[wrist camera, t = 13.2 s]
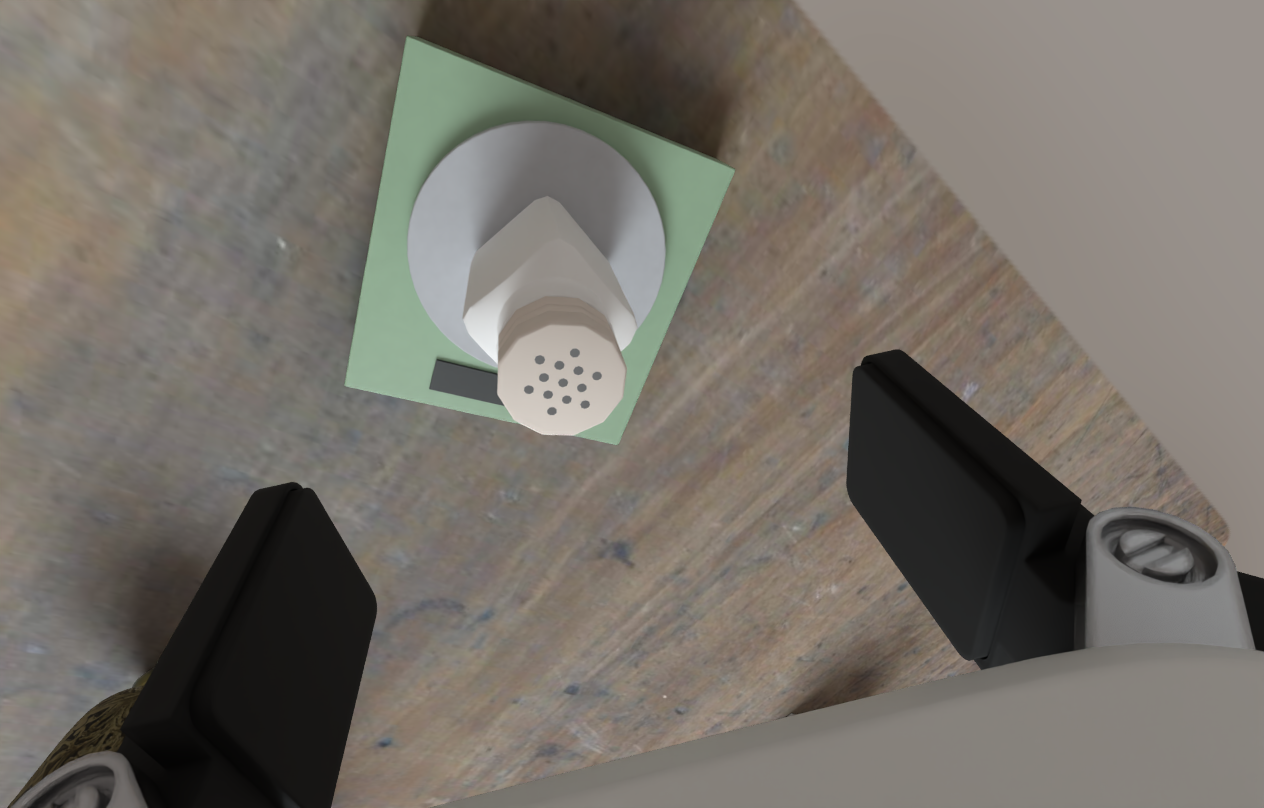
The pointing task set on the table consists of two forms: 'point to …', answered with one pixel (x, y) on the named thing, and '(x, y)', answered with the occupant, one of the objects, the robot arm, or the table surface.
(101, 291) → the table surface
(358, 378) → the kitchen scale
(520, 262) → the pepper shaker
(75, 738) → the cup
